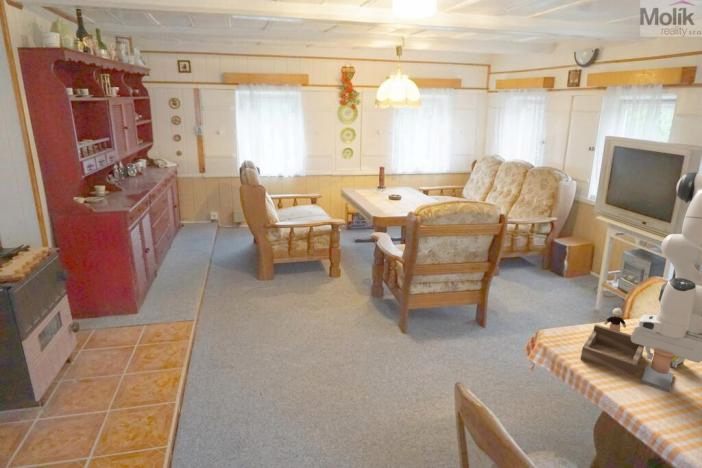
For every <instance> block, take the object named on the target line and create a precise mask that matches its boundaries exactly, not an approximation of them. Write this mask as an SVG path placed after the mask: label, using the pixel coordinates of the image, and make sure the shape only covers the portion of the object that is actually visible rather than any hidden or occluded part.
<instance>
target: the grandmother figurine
mask: <svg viewBox="0 0 702 468" xmlns="http://www.w3.org/2000/svg"><path fill="white" fill-rule="evenodd" d="M612 314H613V316H609V317H608V318H606V319H605V321H604V322H603V324H604V325H607V324H608V323H610V324H609V327H608V328H609V329H613V330H616V331H619V332H621V325H622V327H623V328H624V329H626V328H627V325H626V322H625V320H624V319H623V318H622V317H621V316H623V310H622V309H621V308H620V307H616V308H614V309H613V310H612Z"/></svg>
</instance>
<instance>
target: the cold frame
mask: <svg viewBox="0 0 702 468" xmlns="http://www.w3.org/2000/svg"><path fill="white" fill-rule="evenodd" d="M609 328H610V327H605V326H602V325H599V324H596V323H595V325H594V326H593V330H592V332H591V334H590V335H589V337H588V338H587V340H586V341H585V343H584V345H583V346H582V350H581V354H580V360H582V361H584V362H587V363H590V364H594V365H596V366H599V367H602V368H605V369H608V370H610V371H614V372H616V373H619V374H622V375H625V376H628V377H631V378H634V376H635V374H636V371H637V370H638V367H639V364H640V362H641V359H642V356H643V352H644V350H645V346H642V345H639V344H636V343H633V342H632V341H631V335H632V334H629V333H625V332H621V331H620V332H619V331H616V330H613V329H609ZM595 344H598V345H601V346H604V347H608V348H610V349H613V350H617V351H619V352H623V353H625V354H629V355H632V356H633V358H632V360H628V359H625V358H622V357H619V356H616V355H614V354H610V353H608V352H604V351H602V350H598V349H595V348H593V347H594V346H595Z"/></svg>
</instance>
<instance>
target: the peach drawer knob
mask: <svg viewBox="0 0 702 468" xmlns="http://www.w3.org/2000/svg"><path fill="white" fill-rule="evenodd" d="M652 351H654V353H653V357H652V360H651V365H650V366H651V368H652V369H653V370H654V371H656V372H658V373H661V374H667V373H669V372H670V370H671V363H672V359H673V357H675V356H674V354H672V353H669V352H665V351H662V350H659V349H656V348H655V349H652Z"/></svg>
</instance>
